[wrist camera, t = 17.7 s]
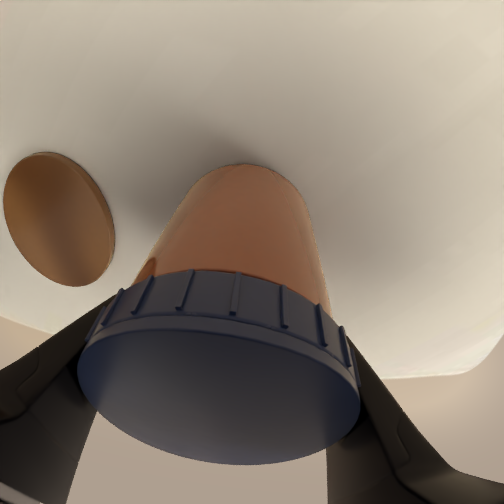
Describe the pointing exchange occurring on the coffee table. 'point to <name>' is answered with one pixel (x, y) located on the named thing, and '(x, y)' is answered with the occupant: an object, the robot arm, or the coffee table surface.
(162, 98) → the coffee table surface
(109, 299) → the robot arm
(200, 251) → the jar
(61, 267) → the coaster
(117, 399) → the jar lid
